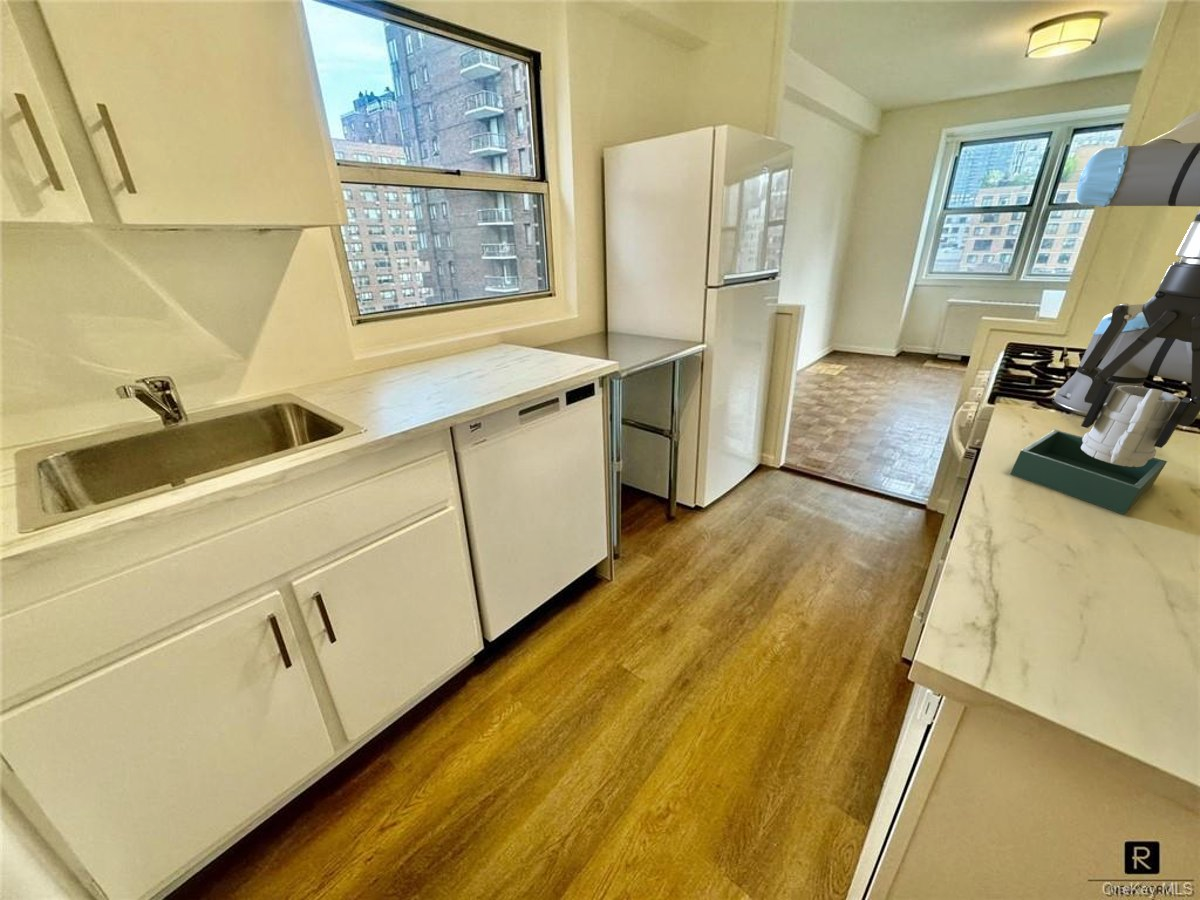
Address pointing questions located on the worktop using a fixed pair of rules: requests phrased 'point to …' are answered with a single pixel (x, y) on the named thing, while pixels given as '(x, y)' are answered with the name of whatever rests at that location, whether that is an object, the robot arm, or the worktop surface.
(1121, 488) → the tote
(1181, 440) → the worktop surface
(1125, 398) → the mug
